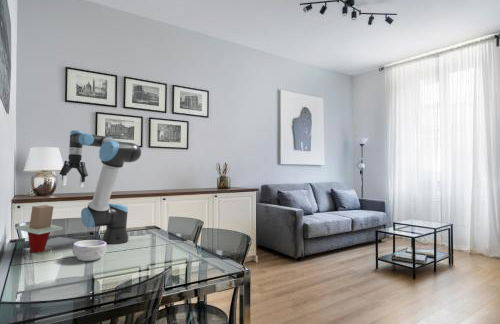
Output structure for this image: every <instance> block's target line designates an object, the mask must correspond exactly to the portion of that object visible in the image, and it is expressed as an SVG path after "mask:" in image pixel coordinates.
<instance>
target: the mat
mask: <svg viewBox="0 0 500 324" xmlns="http://www.w3.org/2000/svg"><path fill="white" fill-rule="evenodd" d="M83 240H84V239H76V238H71V237H69V238H68V237H62V236H58V237H52V238H48V240H47V243H46V246H45V248H46V247H47V248H52V249H62V248H66V247H69V246H72V245H73V244H74V243H75V242H78V241H83Z"/></svg>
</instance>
